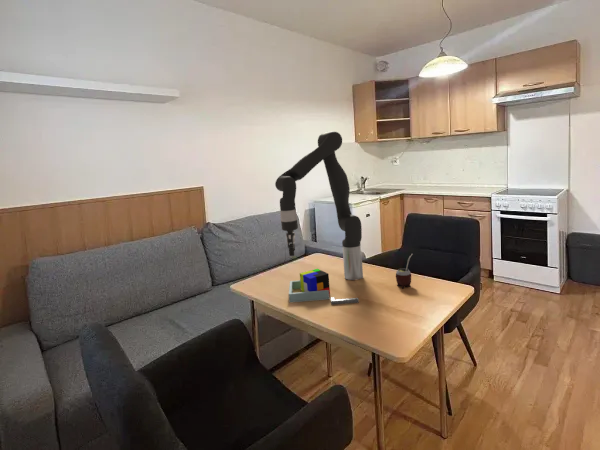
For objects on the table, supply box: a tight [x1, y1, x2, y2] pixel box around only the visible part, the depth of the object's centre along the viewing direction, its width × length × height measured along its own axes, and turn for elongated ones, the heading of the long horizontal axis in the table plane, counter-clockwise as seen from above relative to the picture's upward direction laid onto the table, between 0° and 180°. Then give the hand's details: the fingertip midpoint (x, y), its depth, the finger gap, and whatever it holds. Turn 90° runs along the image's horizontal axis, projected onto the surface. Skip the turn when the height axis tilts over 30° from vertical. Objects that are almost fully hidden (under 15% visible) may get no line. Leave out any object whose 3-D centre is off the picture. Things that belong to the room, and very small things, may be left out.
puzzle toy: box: [299, 268, 331, 295], centre depth 181 cm, size 10×10×10 cm
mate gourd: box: [395, 253, 414, 289], centre depth 179 cm, size 8×8×15 cm
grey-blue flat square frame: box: [288, 280, 330, 303], centre depth 181 cm, size 18×17×4 cm
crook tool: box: [330, 296, 360, 306], centre depth 169 cm, size 12×4×2 cm, turn 89°
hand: (292, 253), depth 179 cm, fingers open, 8 cm apart
